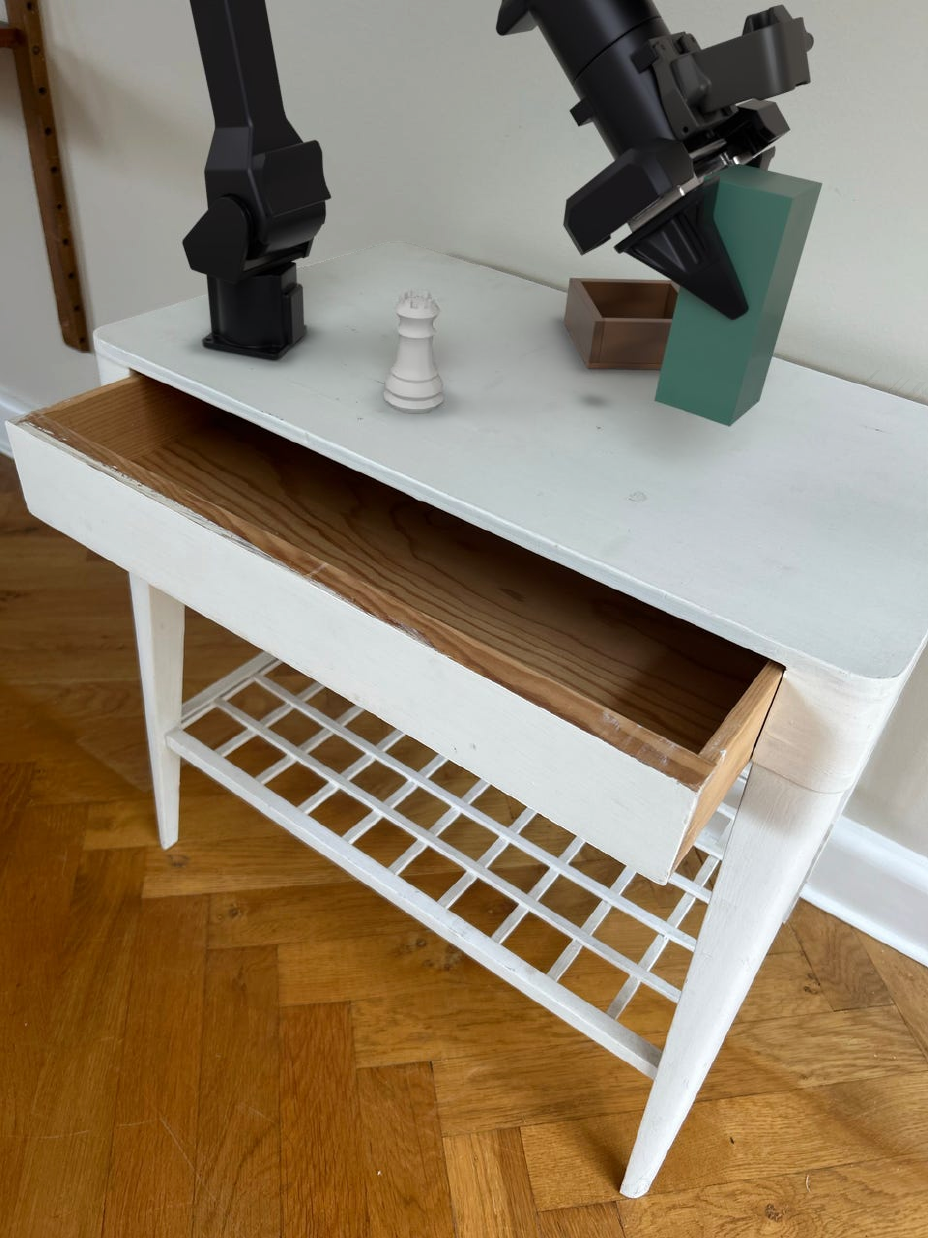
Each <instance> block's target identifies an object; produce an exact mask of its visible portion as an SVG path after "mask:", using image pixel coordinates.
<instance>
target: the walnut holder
mask: <svg viewBox="0 0 928 1238" xmlns="http://www.w3.org/2000/svg"><path fill="white" fill-rule="evenodd" d="M679 288H680V285H678V284H676V283H675V282H673V281H672V280H670V279H641V278H639V279H635V278H634V279H633V278H596V277H595V278H594V277H592V278H591V277H569V281H568V288H567V294H566V295H567V296H566V303H565V312H564V318H563V324H564V325H565V327H566V329H567V331H568V333H569V336H570V337H571V339H572V341H573V343H574V344H575V347H576V349H577V350H578V353H579V354H580V356H581V358H582V360H583V362H584V364H585V367H586V368H587V369H591V370H592V369H593V370H595V369H596V370H601V369H602V370H661V368H662V364H663V359H664V355H665V350H666V346H667V341H668V337H669V332H670V328H671V323H672V319H673V314H674V310H675V306H676V301H677V297H678V292H679Z"/></svg>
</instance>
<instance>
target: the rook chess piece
mask: <svg viewBox="0 0 928 1238" xmlns="http://www.w3.org/2000/svg"><path fill="white" fill-rule="evenodd" d="M418 293H419V291H418V289H412V288H411V289H410V295H409V291H407V290H403V291H401V292H400V294H399V296H398V297H399V299H398V301H397V302H396V303H395V305H394V306H393V311H394V312H395V314H396V315H397V317H398V318H399V324H398V325H397V327H396V329H395V330H396V332H397V334H398V346H397V352H396V356H395V360H394V363H393V365H392V366H391V368H390V372H389V373H387V376H386V377H385V380H384V385H385V390H384V392H383V398H384V400H385V401H386V403H387V404H388V405H389V406H390V407H392V408H393V409H394V410H396V411H399V412H401V413H406V414H407V413H408V414H424V413H429V412H432V411H433V410H435V409H436V408H438V407H439V406H440V404H442V403H443V400H444V395H443V392H442V390H443V388H444V382H443V380H442V377H441V376H440V374H439V370H438V368H437V367H436V364H435V358H434V346H433V342H434V336H435V334H436V333H437V330H436V328H435V327H434V321H435V320H436V319H437V318H438V316H439V315H440V313H441V309H440V307H439V306H438V304H437V303H436V301H437V296H436V294H435V293H434V294H431V291H428V290H423V291H422V295H418Z"/></svg>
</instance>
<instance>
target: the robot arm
mask: <svg viewBox="0 0 928 1238" xmlns="http://www.w3.org/2000/svg"><path fill="white" fill-rule="evenodd" d="M189 5H190V9H191V14H192V19H193V25H194V28H195V33H196V39H197V43H198V48H199V52H200V57H201V62H202V67H203V68H202V69H203V72H204V76H205V77H204V78H205V81H206V86H207V91H208V96H209V100H210V105H211V110H212V115H213V121H214V130H213V133H212V137H211V141H210V146H209V150H208V153H207V157H206V161H205V165H204V169H203V176H204V177H203V178H204V185H205V195H206V206H207V210H206V211H205V213H203V215H202V216H201V217H200V218H199V220H198V221H197V222H196V223H195V224H194V225H193V227H192V228H191V229H190V230H189V232H188V233H187V234H186V235H185V236H184V237H183V239H182V240H181V245H182V248H183V250H184V253H185V256H186V259H187V262H188V266H189V269H190V270H191V271H194V272H196V273H199V274H203V275H205V277H206V287H207V297H208V309H209V321H210V332H209V333H208V334H207V335H206V336H204V337H203V338H202V339H201V343H202V346H203V347H204V348H208V349H212V350H213V349H214V350H220V351H224V352H229V353H236V354H241V355H247V356H252V357H257V358H263V359H269V360H279V359H280V358H281V357H282V356H283V355H284V354H285V353H287V352H288V351H289V350H290V348H291V347H293V346H294V345H295V344H296V343H297V342H298V341H299V340H300V339H301V338H302V337H303V336H305V334H306V333H307V332H308V326H307V325H306V324H305V311H304V310H305V309H304V306H305V305H304V287H303V285H302V283H300V282H299V283H298V270H297V262H295V261H297V260H300V259H305V258H308V257H309V256H310V254H311V251H312V247H313V243H314V241H315V237H316V236H317V235H318V233H319V232H320V230H321V228H322V226H323V225H325V223H326V219H327V218H326V216H327V205H326V204H327V203H326V201H329V200H331V199H332V194H331V192H330V190H329V187H328V186H327V183H326V179H325V174H324V162H323V161H324V160H323V159H324V158H323V157H324V156H323V150H322V148H321V144H320V142H319V141H318V140H317V139H312V140H308V141H304V140H303V139H302V138H301V136H300V135H299V134H298V132H297V130H296V129H295V128H294V126H293V125H292V123H291V122H290V121H289V119H288V117H287V114H286V111H285V106H284V101H283V94H282V90H281V83H280V79H279V73H278V67H277V60H276V56H275V50H274V44H273V37H272V33H271V26H270V20H269V15H268V9H267V4H266V0H189ZM536 27H538V29H539V31H540V33H541V34H542V36H543V38H544V40H545V42H546V43H547V45H548V47H549V49H550V50H551V52H552V54H553V55H554V57H555V59H556V61H557V62H558V64H559V66H560V67H561V69H562V71H563V73H564V75H565V76H566V78H567V79H568V82H569V83H570V85H571V87H572V89H573V91H574V92H575V94H576V96H577V98H578V99H579V101H578V102H577V103H576V104H575V105H573V106H572V107H571V108H570V109H569V110H568V111H569V113H570V115H571V117H572V119H573V120H574V122H575V124H576V125H577V127H578V128H579V127H582V126H586V125H589V124H591V123H592V124H593V126H594V127H595V129H596V130H597V132H598V135H600V137H601V139H602V141H603V143H604V144H605V146H606V147H607V149H608V151H609V153H610V155H611V157H612V158H613V160H614V161H612V162H611V163H610V164H609V165H607V166H606V167H605V168H603V169H602V170H601V171H600V172H599V173H597V174H596V175H595V176H593V178H591V179H590V180H589V181H587V183H585V184H584V185H583V186H581V187H580V188H579V189H578V190H577V191H575V192H574V193H572V194H571V195H570V196H569V197H568V198H566V200H565V207H564V208H565V209H564V216H563V221H562V226H563V228H564V229H565V232H567V235H568V236H569V238H570V239H571V242H572V243H573V245H574V246H575V248H576V250H577V251H578V253H579V255H580V256H581V257H583V256H584V255H587V254H588V253H589V252H591V251H593V250H595V249H598V248H599V247H601V246H603V245H605V244H606V243H608V242H609V241H610V240H611V239H612V234H614V233H615V232H617V231H618V230H619V229H620V228H622V227H623V226H625V225H627V226H628V228H629V230H630V232H631V233H630V234H628V235H627V236H625V237H624V238H623V239H622V240H620V241H619V242H617V243H616V244H615V245H614V246H613V247H612V248H613V249H614V251H615V252H616V253H617V254H619V255H621V254H623V253H624V254H627V255H628V256H630V257H631V258H633V259H635V260H637V261H638V262H640V263H642V264H644V265H645V266H647V267H648V268H650V269H652V270H653V271H656V272H657V273H659V274H660V275H663V276H664V277H666V278H667V279H668V280H672V281H673V282H675V283H676V284H678V285H680V286H681V287H683V288H684V289H686V290H687V291H689V292H690V293H692V294H693V295H695V296H696V297H698V298H699V299H700V300H702V301H703V302H705V303H706V304H708V305H709V306H711V307H712V308H714V309H715V310H717V311H718V312H720V313H721V314H723V315H724V316H726V317H727V318H729V319H731V320H735V319H737V318H739V317H740V316H742V315H744V314H745V313H747V312H748V310H749V306H748V303H747V300H746V297H745V295H744V292H743V289H742V286H741V283H740V281H739V278H738V276H737V274H736V271H735V269H734V266H733V264H732V262H731V259H730V257H729V254H728V252H727V250H726V247H725V245H724V242H723V240H722V238H721V235H720V233H719V230H718V228H717V226H716V223H715V220H714V209H715V204H716V198H717V193H718V188H719V182H720V175H719V174H718V175H716V176H714V177H712V178H711V179H709V180H707V181H705V182H703V180H704V177H705V176H708V175H710V174H713V173H716V172H718V171H721V170H723V169H726V168H728V167H731V166H734V165H736V164H742V165H746V166H751V167H755V168H759V169H764V170H768V171H769V167H770V164H771V162H772V159H773V158H775V155H776V149H777V147H776V145H773V146H771V145H772V144H774V143H775V142H776V141H778V140H779V139H781V138H782V137H783V136H785V135H787V133H789V132H790V131H791V128H790V126H789V124H788V122H787V120H786V118H785V116H784V115H783V112H782V111H781V109H780V107H779V106H778V103H777V102H776V101H773V100H768V99H771V98H774V97H777V96H781V95H784V94H786V93H789V92H792V91H794V90H795V89H796V88H797V87H800V86H806V85H809V84H811V82H812V80H811V72H810V65H809V59H808V52H810V50H812V49H813V47H814V43H815V38H814V36H813V34H811V32H808V31H807V30H806V26H805V21H804V17H803V16H800V17H796V18H795V17H794V18H793V17H792V15H791V13H789V11H788V10H787V8H786V7H785V6H784V4H778V5H774V6H770V7H768V9H764V10H762V11H759V12H755V13H751V14H749V15H747V16H746V17H745V20H744V24H743V28H742V32H741V35H739V36H736V37H734V38H731V39H728V40H725V41H722V42H720V43H716V44H713V45H710V46H707V47H705V48H701V46H700V44H699V43H698V40H697V39H696V37H695V36H694V34H692V33H690V32H689V33H687V31H685V30H684V31H680V32H676V33H671V31H670V30H669V29H670V28H668V26H667V24H666V22H665V20H664V18H663V17H662V15H661V13H660V11H659V9H658V7H657V6H656V4H655V2H654V1H653V0H501V3H500V5H499V9H498V13H497V19H496V23H495V31H496V33H497V35H499V36H500V37H505V36H510V35H516V34H521V33H527V32H531V31H533V30H534V29H536ZM769 146H771V147H769ZM768 147H769V148H768ZM766 148H767V149H766Z"/></svg>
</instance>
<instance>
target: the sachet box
mask: <svg viewBox="0 0 928 1238" xmlns="http://www.w3.org/2000/svg"><path fill="white" fill-rule="evenodd" d="M718 174H719V175H720V182H719V188H718V193H717V198H716V204H715V209H714V220H715V223H716V226H717V228H718V230H719V233H720V235H721V238H722V240H723V242H724V245H725V247H726V250H727V252H728V254H729V257H730V259H731V262H732V264H733V266H734V269H735V271H736V274H737V276H738V278H739V281H740V283H741V286H742V289H743V292H744V295H745V297H746V300H747V303H748V306H749V310H748V312H747V313H745V314H744V315H742V316H740V317H739V318H737V319H735V320H731V319H729V318H727V317H726V316H724V315H723V314H721V313H720V312H718V311H717V310H715V309H714V308H712V307H711V306H709V305H708V304H706V303H705V302H703V301H702V300H700V299H699V298H698V297H696V296H695V295H693V294H692V293H690V292H689V291H687V290H686V289H684V288H683V287H681V286H680V288H679V292H678V297H677V301H676V306H675V310H674V314H673V319H672V323H671V328H670V332H669V337H668V341H667V346H666V350H665V355H664V359H663V364H662V368H661V369H660V373H659V377H658V382H657V387H656V391H655V396H654V400H653V401H654V402H657V403H659V404H663V405H665V406H668V407H671V408H673V409H677V410H679V411H683V412H686V413H689V414H691V415H694V416H698V417H700V418H703V419H706V420H709V421H711V422H715V423H718V424H721V425H724V426H726V427H731V426H733V425H734V424H735V423H736V422H737V421H738V420H740V419H741V418H742V417H743V416H744V415H745V414H746V413H748V411H750V410H751V409H752V408H753V407H755V405H757V404H758V403H759V402H760V400H761V397H762V394H763V389H764V387H765V383H766V380H767V377H768V376H767V375H768V372H769V370H770V366H771V362H772V359H773V355H774V352H775V348H776V345H777V342H778V338H779V335H780V331H781V328H782V325H783V321H784V317H785V313H786V311H787V307H788V303H789V300H790V296H791V293H792V291H793V288H794V287H793V286H794V283H795V280H796V276H797V273H798V269H799V265H800V262H801V258H802V257H803V256H802V255H803V251H804V249H805V245H806V241H807V238H808V235H809V231H810V228H811V224H812V220H813V217H814V214H815V211H816V207H817V204H818V200H819V198H820V193H821V190H822V186H823V183H822V182H819V181H816V180H811V179H807V178H802V177H798V176H793V175H789V174H785V173H782V172H781V173H780V172H776V171H772V170H769V169H768V170H764V169H759V168H755V167H751V166H746V165H742V164H736V165H734V166H731V167H728V168H726V169H723V170H721V171H718V172H716V173H713V174H710V175H708V176H705V177H704V180H703V182H705V181H707V180H709V179H711V178H712V177H714V176H716V175H718Z"/></svg>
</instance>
